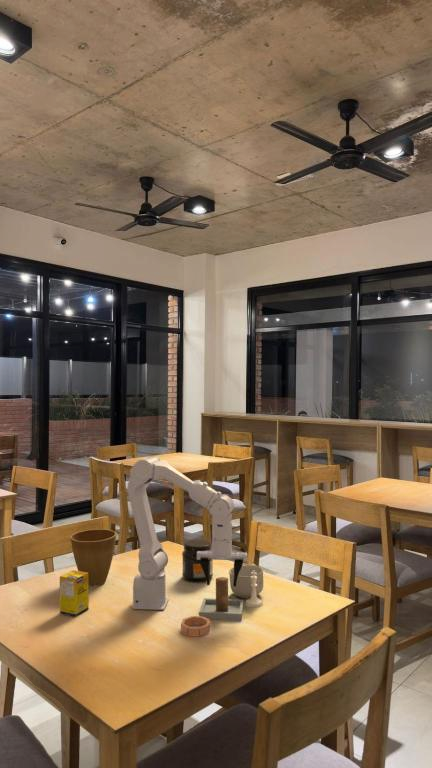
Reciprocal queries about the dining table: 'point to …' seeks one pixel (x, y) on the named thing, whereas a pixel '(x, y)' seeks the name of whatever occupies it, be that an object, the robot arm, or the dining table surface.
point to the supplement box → (74, 593)
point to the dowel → (221, 594)
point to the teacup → (246, 581)
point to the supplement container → (195, 560)
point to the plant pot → (94, 553)
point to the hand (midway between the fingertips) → (221, 584)
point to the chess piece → (253, 593)
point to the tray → (232, 614)
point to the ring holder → (195, 630)
